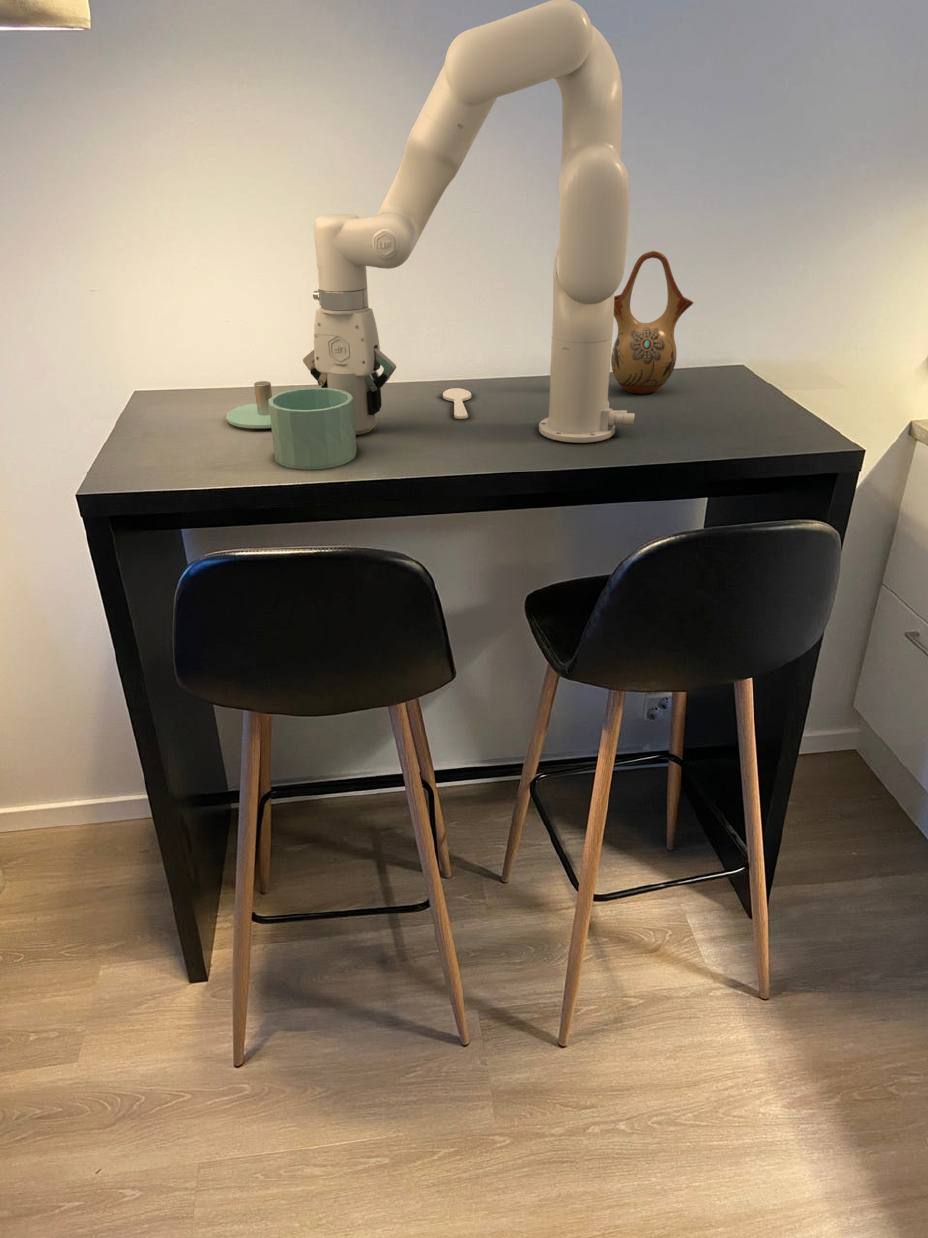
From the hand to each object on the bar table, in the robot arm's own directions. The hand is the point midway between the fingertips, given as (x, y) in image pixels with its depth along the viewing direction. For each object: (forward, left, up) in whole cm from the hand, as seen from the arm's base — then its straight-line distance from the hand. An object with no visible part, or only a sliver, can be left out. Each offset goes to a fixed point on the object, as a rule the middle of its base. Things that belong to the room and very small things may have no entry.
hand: (352, 409), depth 152 cm
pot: (+3, +13, -4) cm, 13 cm away
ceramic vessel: (-48, -30, -4) cm, 57 cm away
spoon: (-15, -17, -4) cm, 23 cm away
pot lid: (+17, -4, -3) cm, 18 cm away
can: (0, 0, -4) cm, 4 cm away
